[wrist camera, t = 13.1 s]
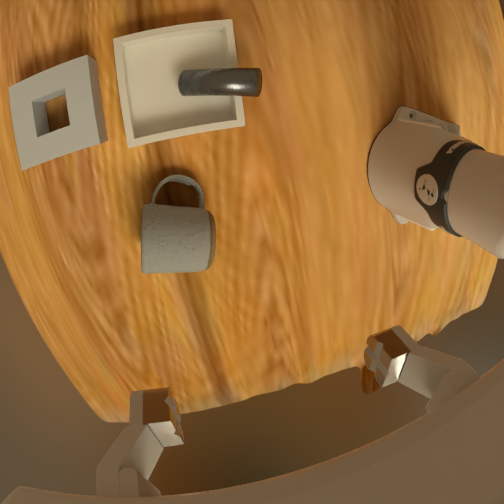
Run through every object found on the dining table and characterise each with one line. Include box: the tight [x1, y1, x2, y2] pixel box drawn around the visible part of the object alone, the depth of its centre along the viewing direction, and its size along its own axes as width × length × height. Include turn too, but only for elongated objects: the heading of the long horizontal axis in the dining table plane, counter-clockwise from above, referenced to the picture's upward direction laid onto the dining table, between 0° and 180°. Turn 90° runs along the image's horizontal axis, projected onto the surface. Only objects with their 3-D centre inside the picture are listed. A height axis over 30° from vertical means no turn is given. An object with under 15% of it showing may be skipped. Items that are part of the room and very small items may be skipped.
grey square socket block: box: [9, 55, 108, 171], centre depth 25 cm, size 10×10×4 cm
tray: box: [113, 19, 245, 148], centre depth 28 cm, size 13×13×3 cm
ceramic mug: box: [141, 174, 216, 274], centre depth 32 cm, size 11×8×8 cm
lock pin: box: [178, 68, 262, 97], centre depth 27 cm, size 3×3×8 cm
